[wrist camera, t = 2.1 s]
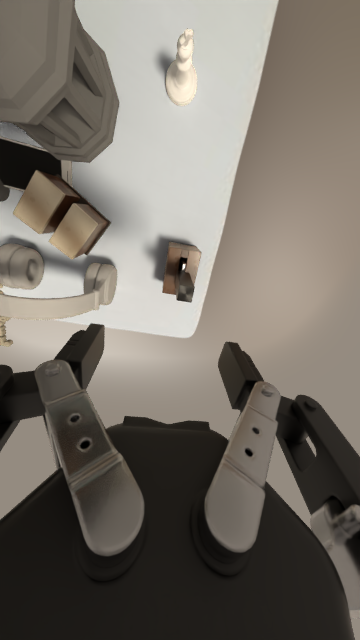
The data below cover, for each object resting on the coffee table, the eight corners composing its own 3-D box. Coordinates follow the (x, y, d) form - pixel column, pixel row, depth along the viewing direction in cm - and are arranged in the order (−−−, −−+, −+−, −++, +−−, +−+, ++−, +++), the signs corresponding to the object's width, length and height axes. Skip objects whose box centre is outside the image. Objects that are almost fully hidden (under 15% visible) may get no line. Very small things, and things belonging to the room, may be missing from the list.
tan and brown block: (58, 174, 35) (34, 165, 29) (111, 222, 39) (100, 224, 33) (36, 213, 38) (8, 213, 31) (87, 254, 42) (72, 262, 35)
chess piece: (202, 92, 31) (216, 44, 22) (176, 113, 32) (179, 76, 24) (186, 51, 29) (195, -19, 20) (159, 75, 30) (156, 19, 21)
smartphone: (-27, 129, 32) (-33, 127, 31) (72, 157, 35) (70, 156, 34) (-17, 181, 35) (-22, 180, 35) (73, 203, 38) (71, 203, 37)
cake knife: (176, 252, 43) (181, 275, 27) (186, 254, 43) (196, 278, 27) (172, 275, 45) (175, 308, 29) (181, 276, 45) (189, 310, 30)
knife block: (169, 241, 42) (169, 246, 35) (196, 246, 42) (201, 252, 36) (163, 282, 46) (162, 292, 40) (188, 286, 47) (191, 297, 40)
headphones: (119, 262, 43) (88, 293, 26) (116, 297, 47) (87, 344, 30) (18, 239, 40) (-93, 259, 23) (24, 279, 43) (-68, 321, 26)
